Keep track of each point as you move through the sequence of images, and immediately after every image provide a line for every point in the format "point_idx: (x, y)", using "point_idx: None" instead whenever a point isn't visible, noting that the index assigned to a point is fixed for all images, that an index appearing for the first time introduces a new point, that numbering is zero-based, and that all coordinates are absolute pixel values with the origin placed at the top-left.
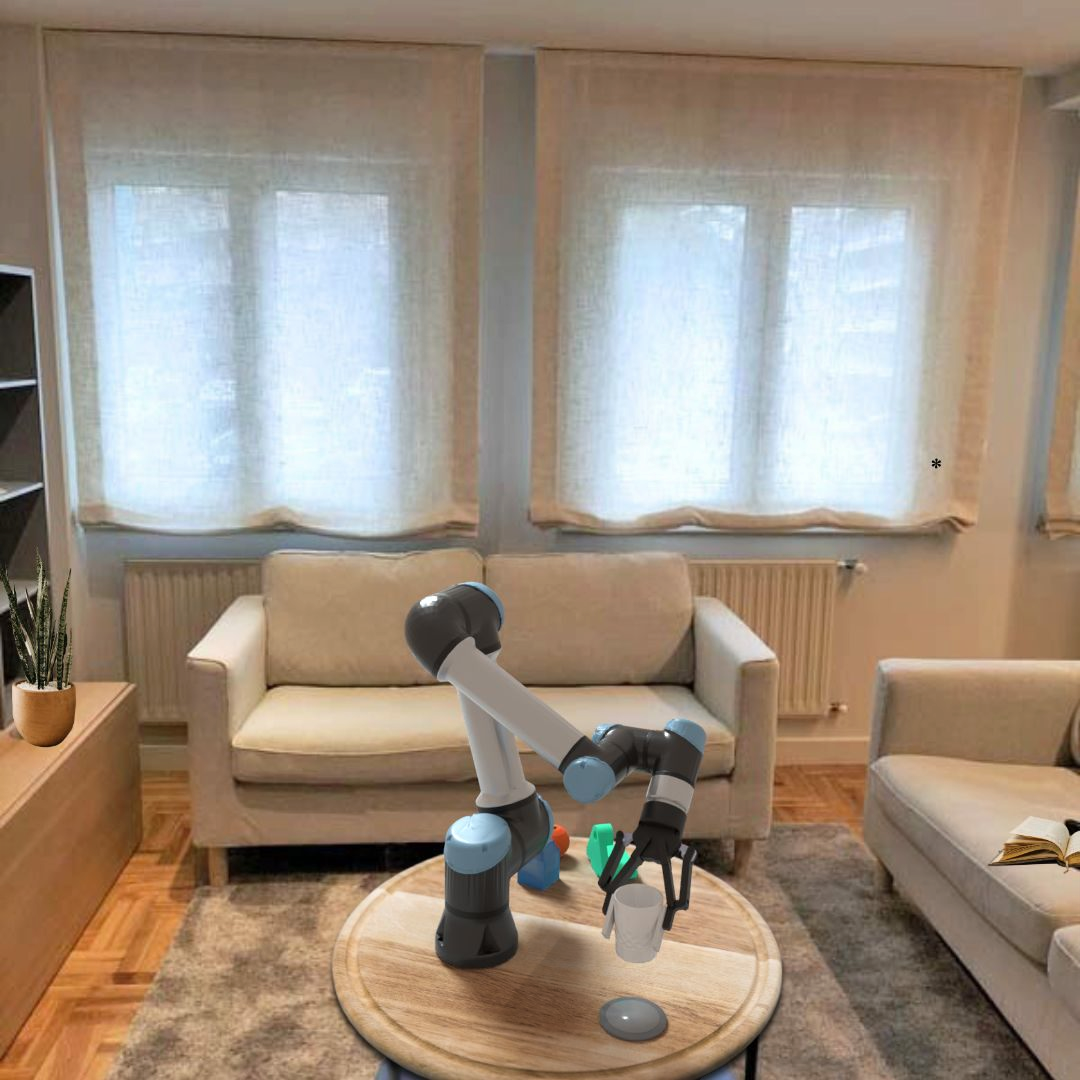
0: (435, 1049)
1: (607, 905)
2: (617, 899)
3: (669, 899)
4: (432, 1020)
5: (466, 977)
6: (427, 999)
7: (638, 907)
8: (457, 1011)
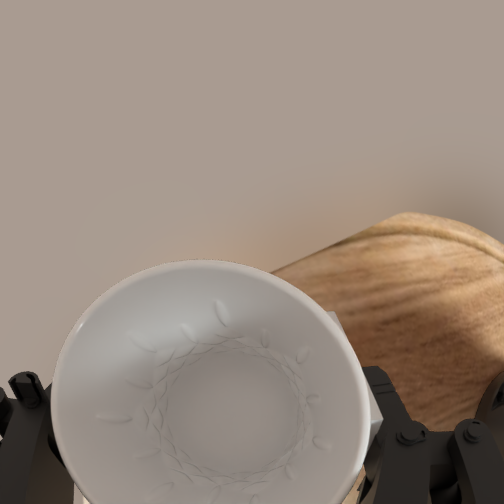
0: (435, 232)
1: (373, 391)
2: (339, 417)
3: (30, 417)
4: (468, 270)
5: (491, 361)
6: (492, 299)
7: (245, 499)
8: (463, 298)
